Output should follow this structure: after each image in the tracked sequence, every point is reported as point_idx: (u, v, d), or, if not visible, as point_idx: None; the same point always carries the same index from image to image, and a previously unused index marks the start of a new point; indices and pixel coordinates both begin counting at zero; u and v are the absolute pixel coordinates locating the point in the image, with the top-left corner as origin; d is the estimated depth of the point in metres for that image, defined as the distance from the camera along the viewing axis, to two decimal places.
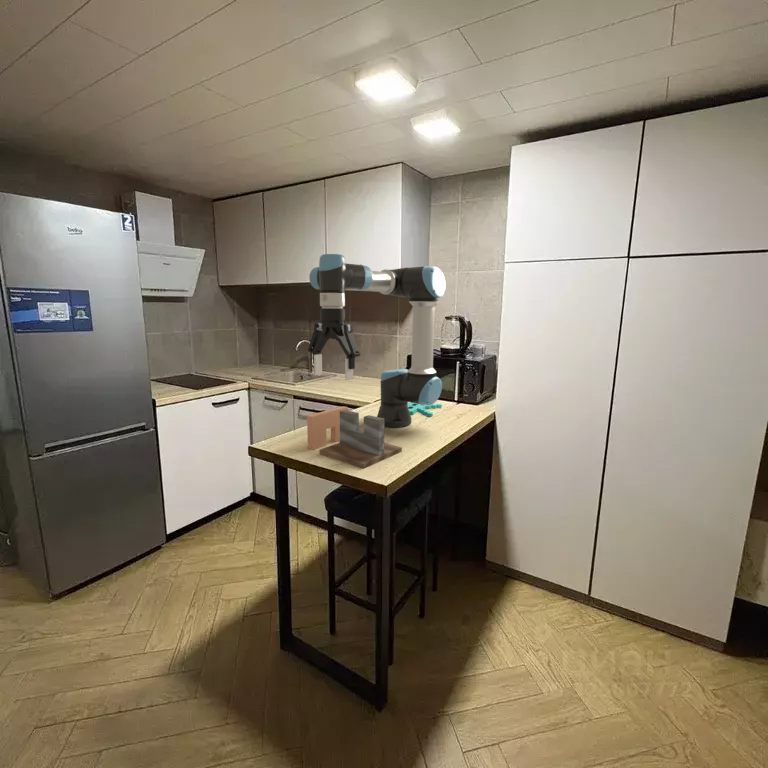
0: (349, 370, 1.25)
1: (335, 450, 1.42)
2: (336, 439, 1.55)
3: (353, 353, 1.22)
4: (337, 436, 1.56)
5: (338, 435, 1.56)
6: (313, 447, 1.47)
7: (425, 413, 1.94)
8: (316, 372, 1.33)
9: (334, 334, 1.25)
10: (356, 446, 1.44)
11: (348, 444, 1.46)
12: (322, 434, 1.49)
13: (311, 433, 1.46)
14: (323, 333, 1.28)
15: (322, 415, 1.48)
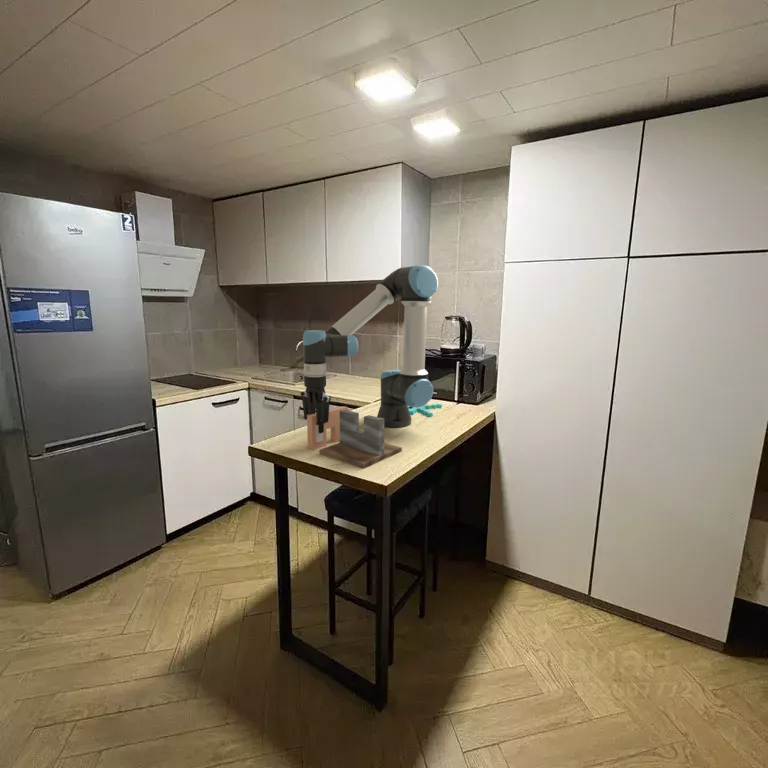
0: (319, 433, 1.47)
1: (335, 450, 1.42)
2: (336, 439, 1.55)
3: (322, 421, 1.44)
4: (337, 436, 1.56)
5: (338, 435, 1.56)
6: (313, 447, 1.47)
7: (425, 413, 1.94)
8: None
9: (314, 399, 1.44)
10: (356, 446, 1.44)
11: (348, 444, 1.46)
12: None
13: (311, 433, 1.46)
14: (309, 398, 1.46)
15: None
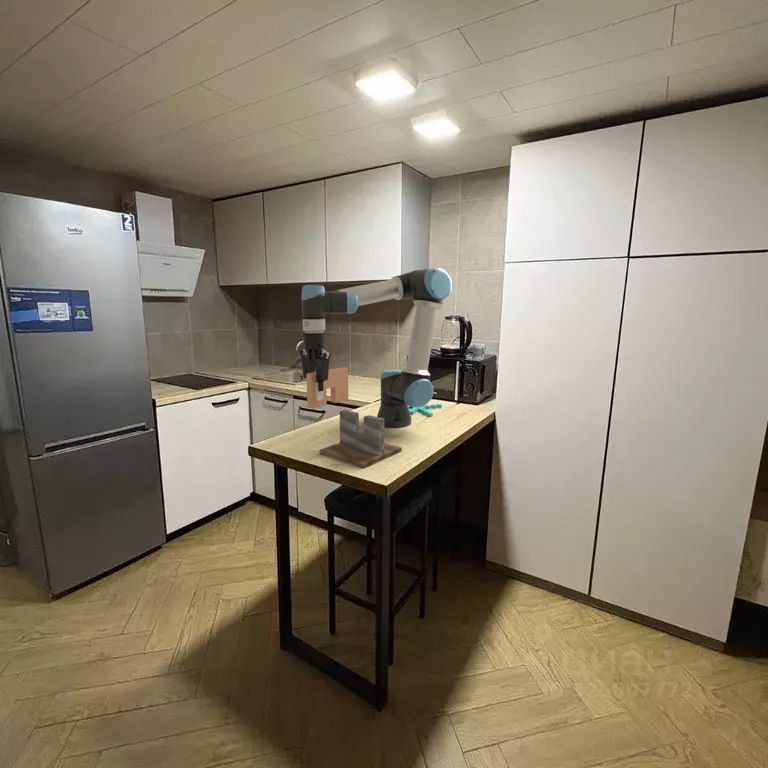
0: (319, 392, 1.44)
1: (335, 450, 1.42)
2: (336, 400, 1.53)
3: (322, 378, 1.41)
4: (337, 397, 1.53)
5: (338, 396, 1.53)
6: (313, 406, 1.44)
7: (425, 413, 1.94)
8: None
9: (314, 356, 1.41)
10: (356, 446, 1.44)
11: (348, 444, 1.46)
12: None
13: (310, 391, 1.43)
14: (308, 355, 1.43)
15: None
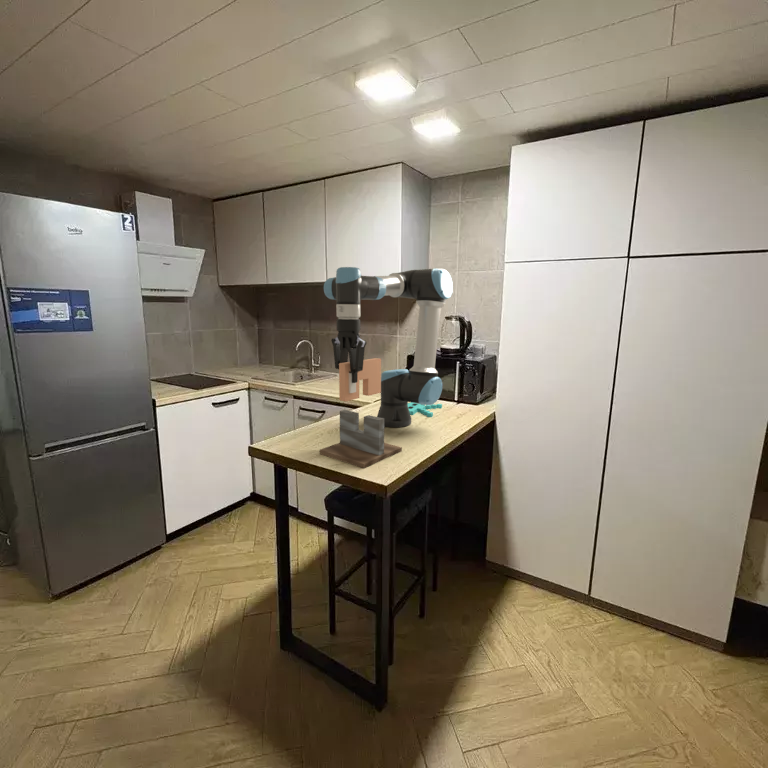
0: (352, 384, 1.33)
1: (335, 450, 1.42)
2: (369, 393, 1.42)
3: (356, 368, 1.30)
4: (370, 390, 1.42)
5: (371, 389, 1.42)
6: (346, 398, 1.33)
7: (425, 413, 1.94)
8: None
9: (348, 345, 1.30)
10: (356, 446, 1.44)
11: (348, 444, 1.46)
12: None
13: (343, 383, 1.32)
14: (341, 344, 1.32)
15: None
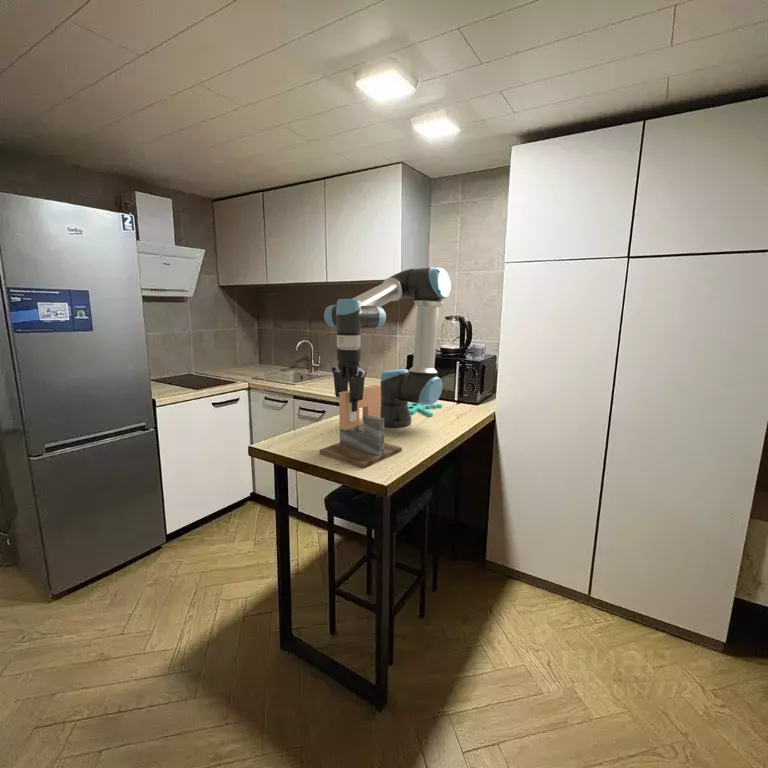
0: (352, 412, 1.35)
1: (335, 450, 1.42)
2: None
3: (356, 398, 1.32)
4: None
5: None
6: (346, 427, 1.35)
7: (425, 413, 1.94)
8: None
9: (348, 375, 1.32)
10: (356, 446, 1.44)
11: (348, 444, 1.46)
12: None
13: (344, 411, 1.34)
14: (341, 373, 1.34)
15: None
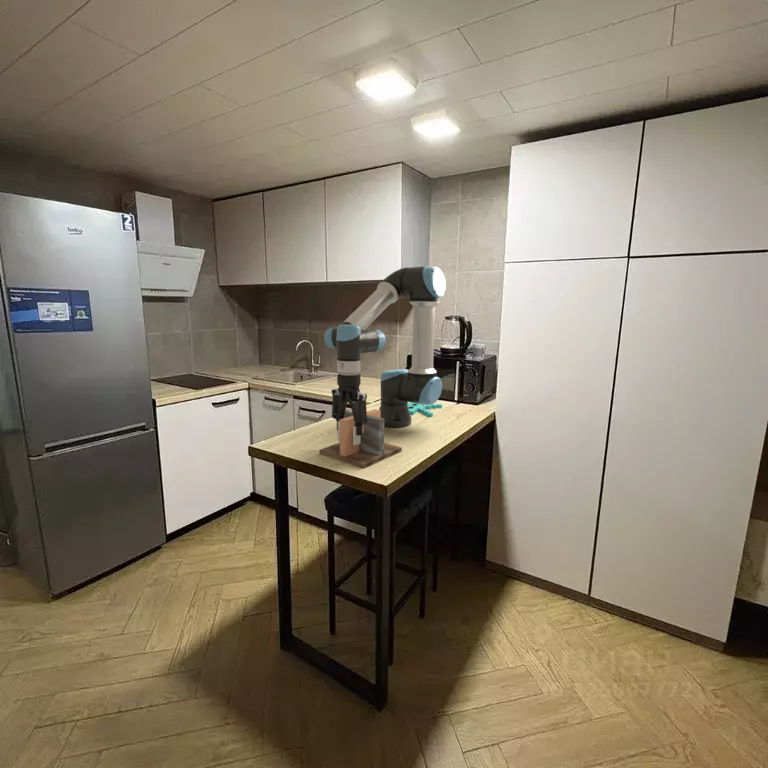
0: (357, 436, 1.36)
1: (335, 450, 1.42)
2: None
3: (361, 422, 1.32)
4: None
5: None
6: (346, 453, 1.36)
7: (425, 413, 1.94)
8: None
9: (349, 399, 1.33)
10: None
11: None
12: None
13: (344, 438, 1.35)
14: (341, 397, 1.36)
15: None
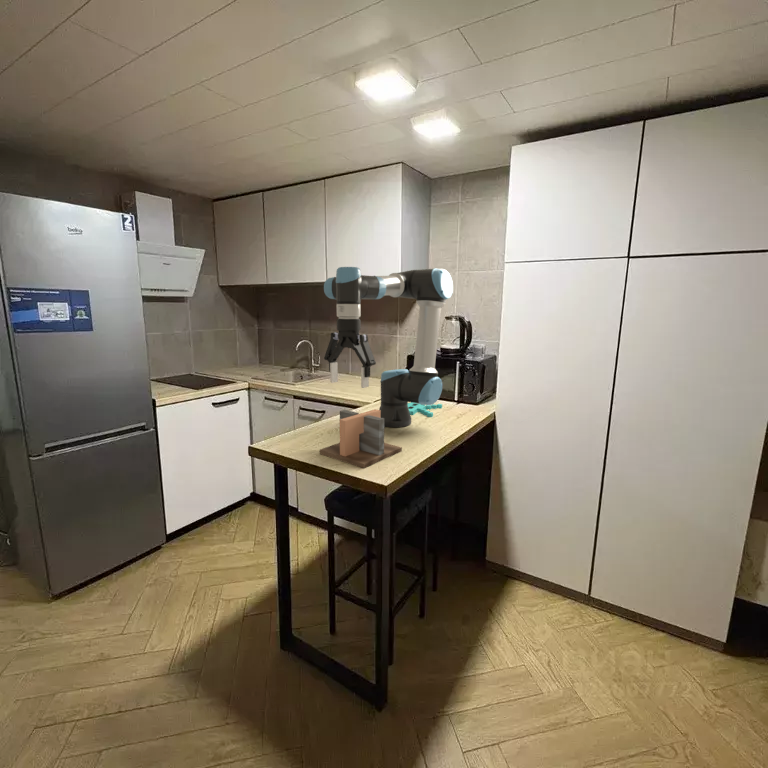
0: (365, 378, 1.30)
1: (335, 450, 1.42)
2: None
3: (369, 362, 1.27)
4: None
5: None
6: (346, 453, 1.36)
7: (425, 413, 1.94)
8: (332, 379, 1.38)
9: (350, 343, 1.30)
10: None
11: None
12: (355, 439, 1.39)
13: (344, 438, 1.35)
14: (339, 342, 1.33)
15: (355, 419, 1.38)
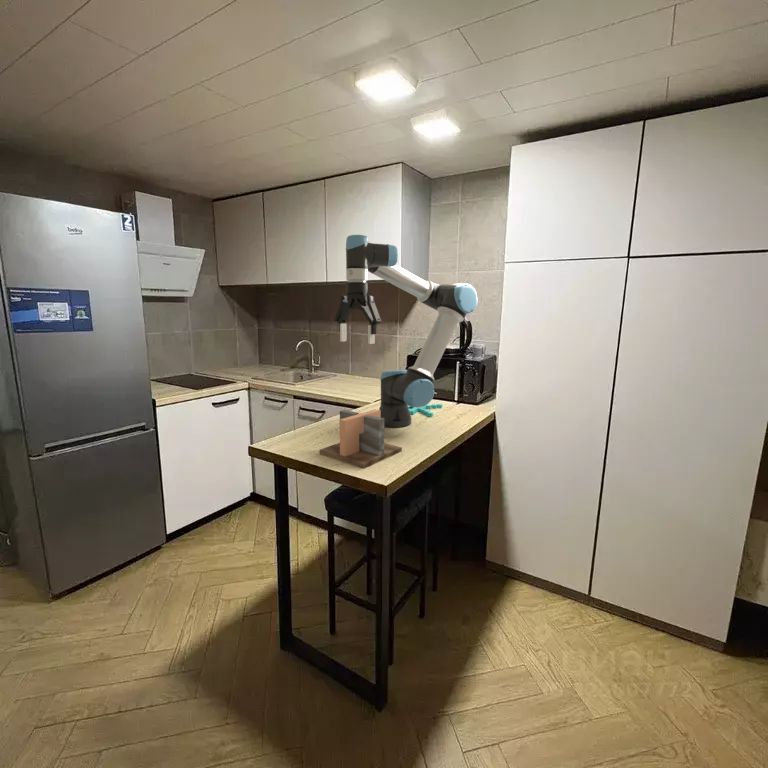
0: (371, 335, 1.45)
1: (335, 450, 1.42)
2: None
3: (375, 320, 1.42)
4: None
5: None
6: (346, 453, 1.36)
7: (425, 413, 1.94)
8: (342, 339, 1.53)
9: (358, 304, 1.45)
10: None
11: None
12: (355, 439, 1.39)
13: (344, 438, 1.35)
14: (348, 304, 1.48)
15: (355, 419, 1.38)
